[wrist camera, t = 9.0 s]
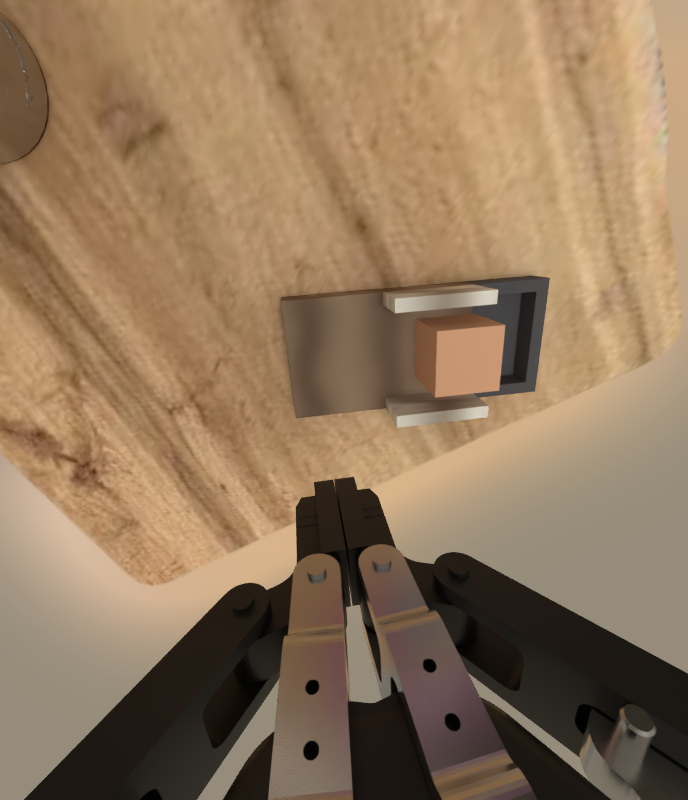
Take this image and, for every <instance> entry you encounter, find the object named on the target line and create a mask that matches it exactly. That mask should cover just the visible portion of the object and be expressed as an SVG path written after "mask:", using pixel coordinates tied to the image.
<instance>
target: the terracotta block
mask: <svg viewBox="0 0 688 800" xmlns="http://www.w3.org/2000/svg"><path fill="white" fill-rule="evenodd" d="M504 335H505V325H504V324H502V323H499V322H496V321H493V320H491V319H488V318H485V317H483V316H480V315H477V314H464V315H453V316H442V317H432V318H421V319H416V377H417V379H418V380H419V381H420V382H421V383H422V384H423V385H424V386H425V387H426V388H427V389H428V390H429V391H430V392H431V393H432V395H433V396H434V397H435V398H436V397H445V396H454V395H463V394H473V393H482V392H491V391H499V387H500V377H501V366H502V356H503V345H504Z"/></svg>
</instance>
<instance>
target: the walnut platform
mask: <svg viewBox="0 0 688 800" xmlns="http://www.w3.org/2000/svg"><path fill="white" fill-rule="evenodd" d="M497 299H498V289H493V288H488V287H483V286H478V285H474V284H469V283H464V282H454V283H443V284H431V285H419V286H408V287H396V288H384V289H373V290H361V291H349V292H337V293H326V294H314V295H302V296H291V297H282V299H281V307H282V314H283V322H284V330H285V337H286V345H287V353H288V361H289V368H290V376H291V384H292V391H293V399H294V407H295V415H296V418H302V417H311V416H320V415H329V414H338V413H347V412H355V411H364V410H373V409H382V408H386V409H387V411H388V413H389V414H390V416H391V418H392V420H393V422H394V423H395V425H396V427H397V428H399V427H408V426H416V425H425V424H433V423H442V422H450V421H459V420H467V419H476V418H484V417H488V405H487V404H486V403H485V402H483V401H482V400H481V399H480V398H478V397H477V396H476V395H475V394H474V393H473V394H463V395H454V396H445V397H436V398H435V397H434V396H433V395H432V393H431V392H430V391H429V390H428V389H427V388H426V387H425V386H424V385H423V384H422V383H421V382H420V381H419V380H418V379H417V377H416V319H421V318H432V317H442V316H453V315H464V314H472V306H481V305H491V304H497Z"/></svg>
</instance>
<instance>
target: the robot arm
mask: <svg viewBox="0 0 688 800" xmlns="http://www.w3.org/2000/svg"><path fill="white" fill-rule="evenodd" d="M46 118H47V93H46V88H45V83H44V78H43V76H42V73H41V70H40V68H39V65H38V63H37V60H36V58H35V56H34V55H33V53H32V51H31V49H30V48H29V46H28V44H27V42H26V41H25V39H24V38H23V37H22V36H21V34H20V33H19V32H18V31H17V29H16V28H15V27H14V26H13V24H12V23H11V22H10V21H9V20H8V19H6V18H5V17H4V16H3V15H2V14H1V13H0V164H3V163H7V162H10V161H14V160H17V159H19V158H21V157H22V156H24V155H25V154H27V153H28V152H30V150H31V149H32V148H33V147H34V146H35V145H36V144H37V142H38V141H39V139H40V137H41V135H42V133H43V131H44V128H45V123H46ZM314 487H315V496H311V497H303V498H301V499H300V501H299V503H298V505H297V507H296V536H297V565H296V567H295V569H294V572H293V573H292V575H291V576H290V577H289V578H288V579H287V580H285V581H284V582H283V583H281V584H279V585H277V586H275V587H273V588H270V589H268V590H266V589H265V588H264V587H262V586H261V585H259V584H255V583H245V584H241V585H239V586H236V587H234V588H233V589H231V590H230V591H228V592H227V593H226V594H225V595H224V596H223V597H222V598H221V599H220V600H219V601H218V602H217V603H216V604H215V605H214V606H213V607H212V608H211V609H210V610H209V611H208V613H206V614H205V615H204V616H203V618H202V619H201V620H200V621H199V622H198V623H197V624H196V625H195V626H194V627H193V628H192V629H191V630H190V631H189V632H188V633H187V634H186V635H185V636H184V637H183V638H182V639H181V640H180V641H179V642H178V643H177V644H176V645H175V646H174V647H173V648H172V649H171V650H170V651H169V652H168V653H167V654H166V655H165V656H164V657H163V658H162V659H161V660H160V661H159V663H157V664H156V666H154V667H153V668H152V670H151V671H150V672H149V673H148V674H147V675H146V676H145V677H144V678H143V679H142V680H141V681H140V682H139V683H138V684H137V685H136V686H135V687H134V688H133V689H132V690H131V691H130V692H129V693H128V694H127V695H126V696H125V697H124V698H123V699H122V700H121V701H120V702H119V703H118V704H117V705H116V706H115V707H114V708H113V709H112V710H111V711H110V712H109V713H108V714H107V715H106V716H105V717H104V718H103V720H102V721H101V722H100V723H99V724H98V725H97V726H96V727H95V728H94V729H93V730H92V731H91V732H90V733H89V734H88V735H87V736H86V737H85V738H84V739H83V740H82V741H81V742H80V743H79V744H78V745H77V746H76V747H75V748H74V749H73V750H72V751H71V752H70V753H69V754H68V755H67V756H66V757H65V758H64V759H63V760H62V761H61V762H60V763H59V765H58V766H57V767H55V768H54V770H53V771H52V772H51V773H50V774H49V775H48V776H47V777H46V778H45V779H44V780H43V781H42V782H41V783H40V784H39V785H38V786H37V787H36V788H35V789H34V790H33V791H32V792H31V793H30V794H29V795H28V796H27V797H26V798H25V799H24V800H197V799H198V797H199V796H200V794H201V793H202V791H203V790H204V788H205V787H206V785H207V784H208V782H209V781H210V779H211V778H212V777H213V775H214V773H215V772H216V771H217V769H218V768H219V766H220V765H221V763H222V762H223V760H224V759H225V757H226V756H227V754H228V753H229V751H230V750H231V748H232V747H233V745H234V744H235V743H236V741H237V740H238V738H239V737H240V735H241V734H242V732H243V731H244V729H245V728H246V727H247V725H248V724H249V722H250V721H251V719H252V718H253V716H254V715H255V713H256V712H257V710H258V709H259V707H260V706H261V705H262V703H263V702H264V700H265V699H266V697H267V696H268V694H269V693H270V691H271V690H272V688H273V687H274V685H275V684H276V682H277V681H278V679H279V689H278V699H277V710H276V721H275V731H274V732H273V733H272V734H270V735H269V736H268V737H267V738H266V739H265V740H264V741H263V742H262V743H261V744H260V745H259V746H258V747H257V748H256V749H255V750H254V752H253V753H252V754H251V756H250V757H249V758H248V760H247V761H246V763H245V764H244V766H243V768H242V769H241V770H240V772H239V774H238V775H237V777H236V779H235V781H234V782H233V784H232V785H231V787H230V789H229V790H228V792H227V794H226V795H225V797H224V799H223V800H688V674H687V673H685V672H684V671H682V670H680V669H678V668H676V667H674V666H673V665H671V664H669V663H667V662H665V661H663V660H661V659H659V658H658V657H656V656H654V655H652V654H650V653H648V652H647V651H645V650H643V649H641V648H639V647H637V646H635V645H634V644H632V643H630V642H628V641H626V640H624V639H622V638H621V637H619V636H617V635H615V634H613V633H611V632H609V631H607V630H606V629H604V628H602V627H600V626H598V625H596V624H594V623H593V622H591V621H589V620H587V619H585V618H583V617H581V616H579V615H578V614H576V613H574V612H572V611H570V610H568V609H567V608H565V607H563V606H561V605H559V604H557V603H556V602H554V601H552V600H550V599H548V598H546V597H544V596H542V595H541V594H539V593H537V592H535V591H533V590H531V589H530V588H528V587H526V586H524V585H522V584H520V583H518V582H517V581H515V580H513V579H511V578H509V577H507V576H505V575H504V574H502V573H500V572H498V571H496V570H494V569H492V568H491V567H489V566H487V565H485V564H483V563H481V562H479V561H477V560H476V559H474V558H472V557H470V556H468V555H465V554H463V553H456V552H450V553H445V554H443V555H441V556H440V557H438V558H437V559H436V561H435V563H434V564H429V563H420V562H415V561H412V560H410V559H407V558H406V557H404V556H403V555H402V553H401V552H400V551H399V550H397V549H396V547H395V544H394V541H393V539H392V536H391V533H390V530H389V527H388V524H387V521H386V518H385V516H384V513H383V510H382V508H381V504H380V501H379V498H378V496H377V495H376V494H375V493H374V492H373V491H371V490H370V489H362V490H357V487H356V483H355V480H354V477H349V478H341V479H335V487H334V482H333V480H327V481H319V482H314ZM335 492H336V493H335ZM349 587H350V592H349ZM350 593H351V598H352V604H353V606H354V605H360V608H361V613H362V622H363V630H364V634H365V638H366V641H367V645H368V649H369V652H370V656H371V660H372V664H373V667H374V671H375V675H376V678H377V682H378V686H379V690H380V694H381V698H382V700H380V701H378V702H376V703H362V702H353V701H351V698H350V683H349V668H348V653H347V637H346V627H347V613H346V607H349V606H351V604H350ZM468 673H469V674H471V675H472V676H473V677H474V678H476V679H477V680H478V681H480V682H481V683H482V684H484V685H485V686H486V687H488V688H489V689H490V690H492V691H493V692H494V693H496V694H497V695H498V696H499V697H501V698H502V699H503V700H505V701H506V702H508V703H509V704H510V705H511V706H513V707H514V708H515V709H517V710H518V711H519V712H521V713H522V714H523V715H525V716H526V717H527V718H528V719H530V720H531V721H533V722H534V723H535V724H537V725H538V726H539V727H540V728H542V729H543V730H544V731H546V732H547V733H548V734H550V735H551V736H552V737H554V738H555V739H556V740H558V741H559V742H560V743H561V744H563V745H564V746H565V747H567V748H568V749H569V750H571V751H572V752H573V753H575V754H576V755H577V756H579V757H580V760H581V763H582V767H583V769H584V772H585V774H586V776H587V777H588V779H589V781H590V782H589V781H588V780H587V779H586V778H585V777H583V776H582V775H581V774H580V773H579V772H577V771H576V770H575V769H574V768H572V767H571V766H570V765H569V764H568V763H566V762H565V761H564V760H563V759H561V758H560V757H559V756H558V755H557V754H555V753H554V752H553V751H552V750H550V749H549V748H548V747H547V746H546V745H544V744H543V743H542V742H541V741H540V740H538V739H537V738H536V737H535V736H533V735H532V734H531V733H530V732H529V731H527V730H526V729H525V728H524V727H522V726H521V725H520V724H519V723H518V722H517V721H515V720H514V719H513V718H512V717H510V716H509V715H508V714H507V713H505V712H504V711H503V710H501V709H500V708H498V707H497V706H495V705H494V704H492V703H491V702H489V701H487V700H485V699H483V698H481V697H479V695H478V693H477V690H476V688H475V686H474V684H473V682H472V680H471V678H470V676H469V674H468ZM279 677H280V678H279Z"/></svg>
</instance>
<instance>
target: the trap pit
mask: <svg viewBox="0 0 688 800" xmlns="http://www.w3.org/2000/svg"><path fill="white" fill-rule="evenodd" d="M549 280H550V278H546V277H538V276H525V277H513V278H501V279H489V280H478V281H466V282H464V283H469V284H474V285H478V286H483V287H488V288H493V289H498V299H497V304H491V305H481V306H472V314H477V315H480V316H483V317H485V318H488V319H491V320H493V321H496V322H499V323H502V324H504V325H505V335H504V345H503V356H502V366H501V377H500V387H499V391H491V392H482V393H474V394H475V395H476V396H477V397H478V398H479V397H488V396H497V395H506V394H515V393H524V392H532V391H535V386H536V378H537V371H538V363H539V355H540V348H541V340H542V333H543V325H544V318H545V310H546V303H547V295H548V287H549Z"/></svg>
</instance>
